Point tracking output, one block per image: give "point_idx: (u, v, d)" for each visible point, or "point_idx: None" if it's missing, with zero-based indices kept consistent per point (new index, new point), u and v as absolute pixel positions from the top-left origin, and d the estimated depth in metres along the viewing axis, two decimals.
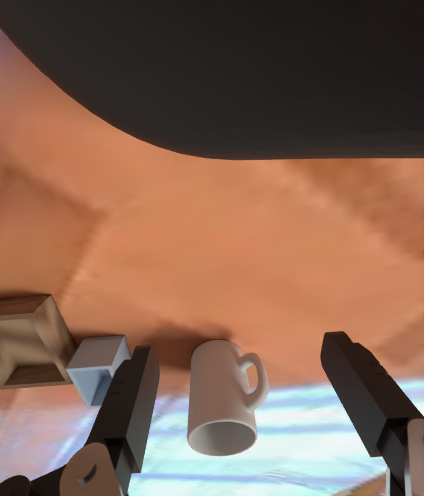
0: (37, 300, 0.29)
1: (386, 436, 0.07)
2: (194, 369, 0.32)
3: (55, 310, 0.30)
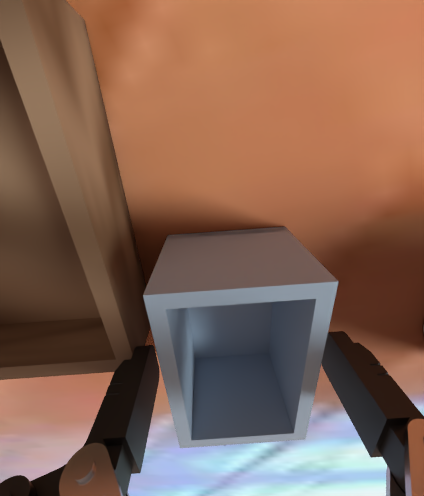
0: None
1: (386, 436, 0.07)
2: None
3: (96, 94, 0.08)
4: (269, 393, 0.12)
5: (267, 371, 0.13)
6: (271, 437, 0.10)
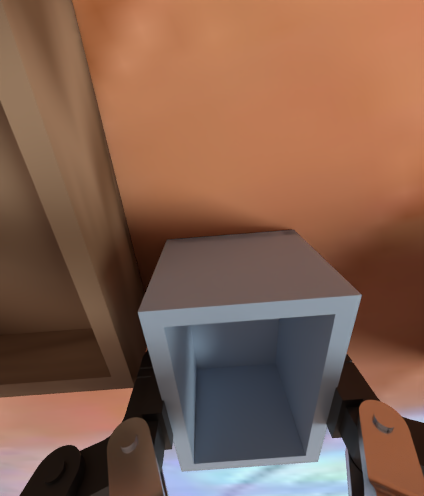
0: None
1: (343, 417, 0.07)
2: None
3: (86, 85, 0.07)
4: (277, 409, 0.11)
5: (274, 384, 0.12)
6: (280, 460, 0.10)
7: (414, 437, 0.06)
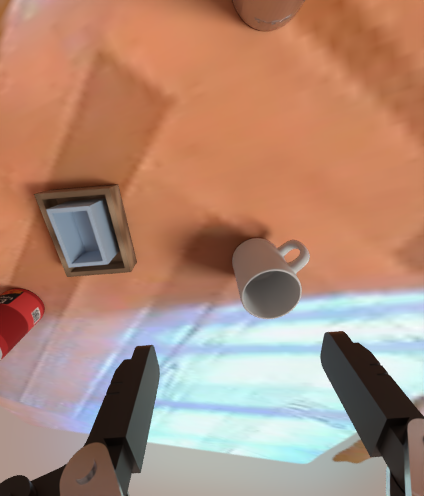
0: (108, 186, 0.33)
1: (386, 436, 0.07)
2: (239, 257, 0.36)
3: (120, 200, 0.35)
4: None
5: None
6: (96, 263, 0.33)
7: None
